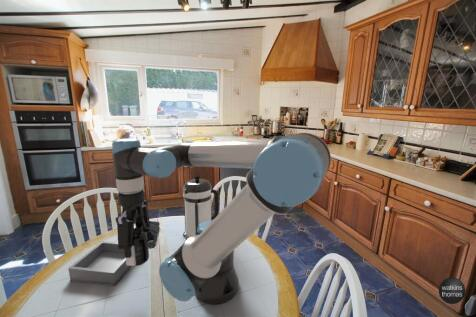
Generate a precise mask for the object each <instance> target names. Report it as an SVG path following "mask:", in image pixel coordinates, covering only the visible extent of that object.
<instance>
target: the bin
mask: <svg viewBox="0 0 476 317" xmlns="http://www.w3.org/2000/svg"><path fill="white" fill-rule="evenodd" d="M132 267H133V266H129V265H126V258H125V252H124V249H118V241H117V242H116V241H103V240H102V241H101V242H99V243H98V244H97V245H95V246H94V247H93V248H92V249H91V250H89V251H88V252H87V253H86V254H84V255H83V256H81V257H80V258H79V259H78V260H77V261H76V262H74V263H73V264H72V265H70V266H69V267H68V274H69V280H70V282H79V283H87V284H98V285H103V286H104V285H106V286H113V287H115V286H116V285H118V283H119V282H120V281H121V279H123V277H124V276H125V275H126V274H127V273H128V272H129V271H130V269H131V268H132Z"/></svg>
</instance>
